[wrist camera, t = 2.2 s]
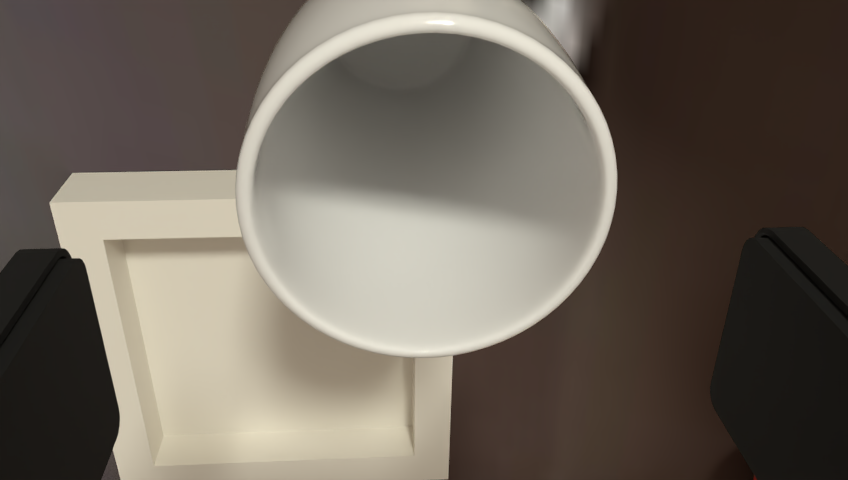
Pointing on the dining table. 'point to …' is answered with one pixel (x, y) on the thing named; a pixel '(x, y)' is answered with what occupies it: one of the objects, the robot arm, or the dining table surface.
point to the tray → (234, 349)
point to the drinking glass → (423, 173)
